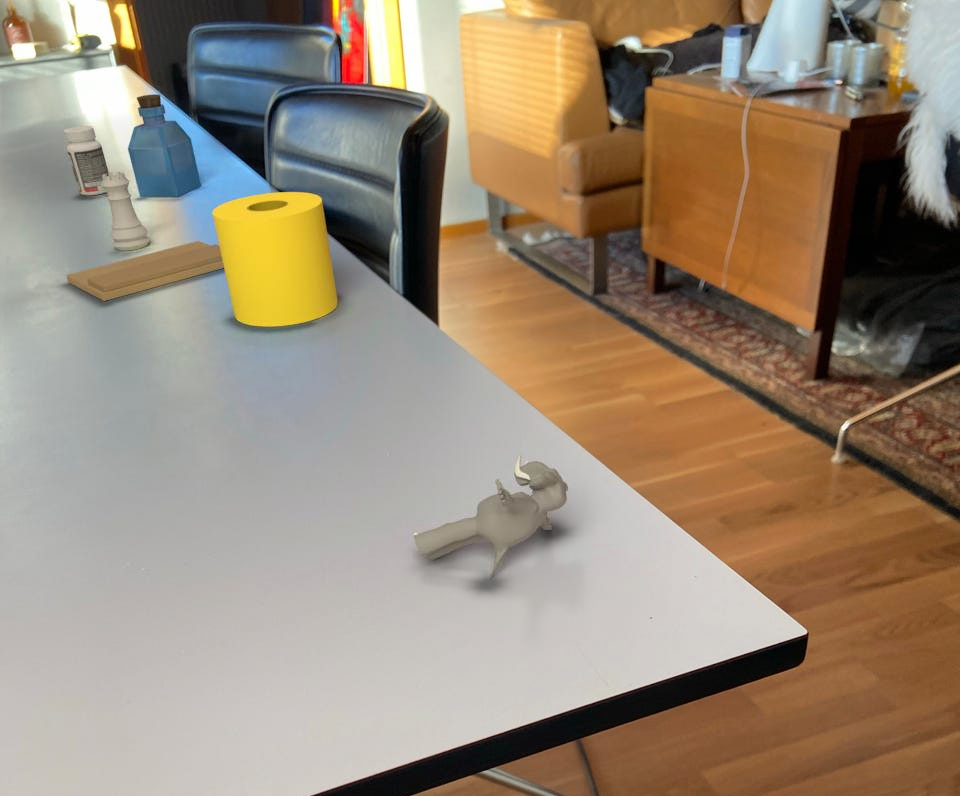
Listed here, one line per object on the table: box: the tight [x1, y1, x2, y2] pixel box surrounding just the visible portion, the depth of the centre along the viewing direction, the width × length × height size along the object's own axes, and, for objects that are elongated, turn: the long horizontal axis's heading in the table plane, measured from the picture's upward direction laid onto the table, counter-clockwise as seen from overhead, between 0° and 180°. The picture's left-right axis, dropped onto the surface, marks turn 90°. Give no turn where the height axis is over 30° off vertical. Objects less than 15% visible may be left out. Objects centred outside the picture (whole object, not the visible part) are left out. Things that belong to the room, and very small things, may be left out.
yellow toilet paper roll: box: [211, 191, 339, 328], centre depth 96 cm, size 10×10×9 cm
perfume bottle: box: [127, 93, 202, 198], centre depth 140 cm, size 6×6×12 cm
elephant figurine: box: [412, 454, 569, 580], centre depth 58 cm, size 10×6×9 cm
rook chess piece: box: [101, 171, 151, 252], centre depth 119 cm, size 4×4×8 cm
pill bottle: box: [63, 125, 110, 196], centre depth 145 cm, size 5×5×8 cm
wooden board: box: [66, 240, 224, 302], centre depth 111 cm, size 16×10×1 cm, turn 129°
